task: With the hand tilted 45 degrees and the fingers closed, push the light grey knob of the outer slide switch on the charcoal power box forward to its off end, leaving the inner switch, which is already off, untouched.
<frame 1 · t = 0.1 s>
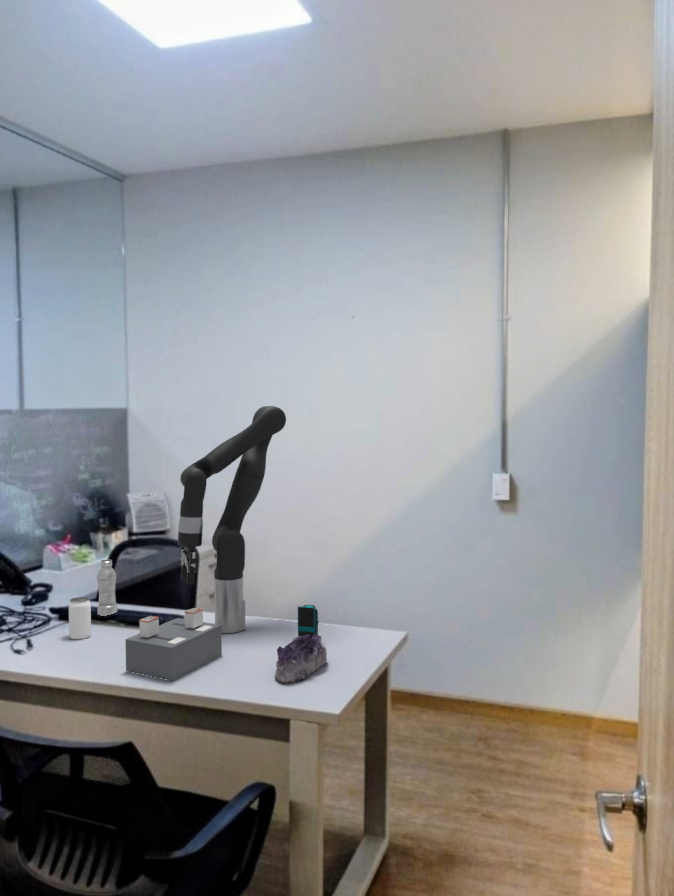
hand: (187, 581, 222), 17 cm above the table, fingers open, 8 cm apart
geode: (299, 672, 191), on the table
power box: (175, 663, 198), on the table
plastic bottle: (107, 618, 242), on the table
can: (80, 637, 221), on the table
switch b: (193, 617, 202), point 12 cm above the table, slide at 6.0 cm
switch a: (149, 626, 194), point 12 cm above the table, slide at 0.0 cm
surveillance camera: (311, 642, 216), on the table
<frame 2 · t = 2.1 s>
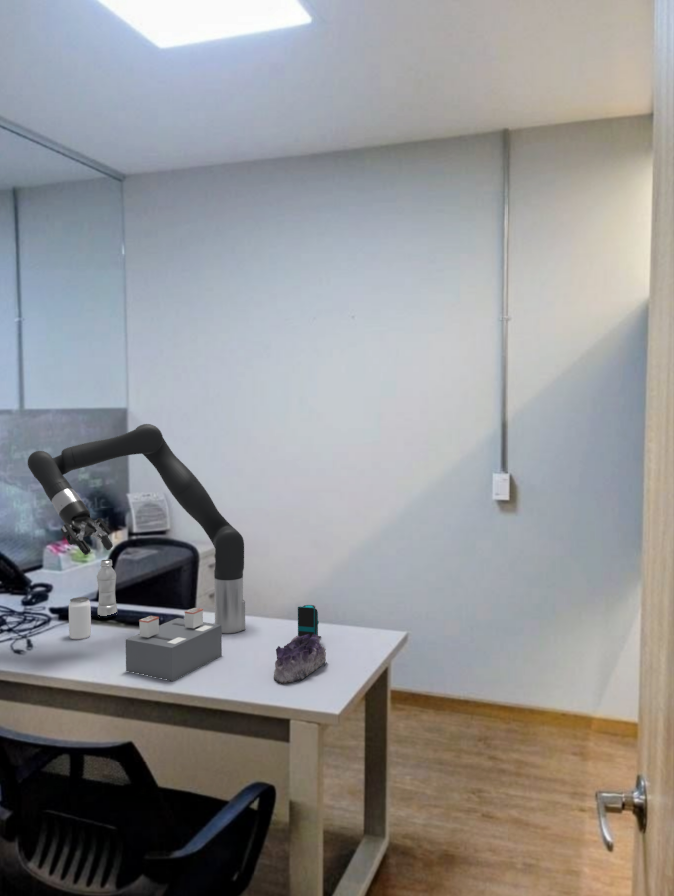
hand: (99, 550, 201), 31 cm above the table, fingers open, 8 cm apart
nothing on the table moved.
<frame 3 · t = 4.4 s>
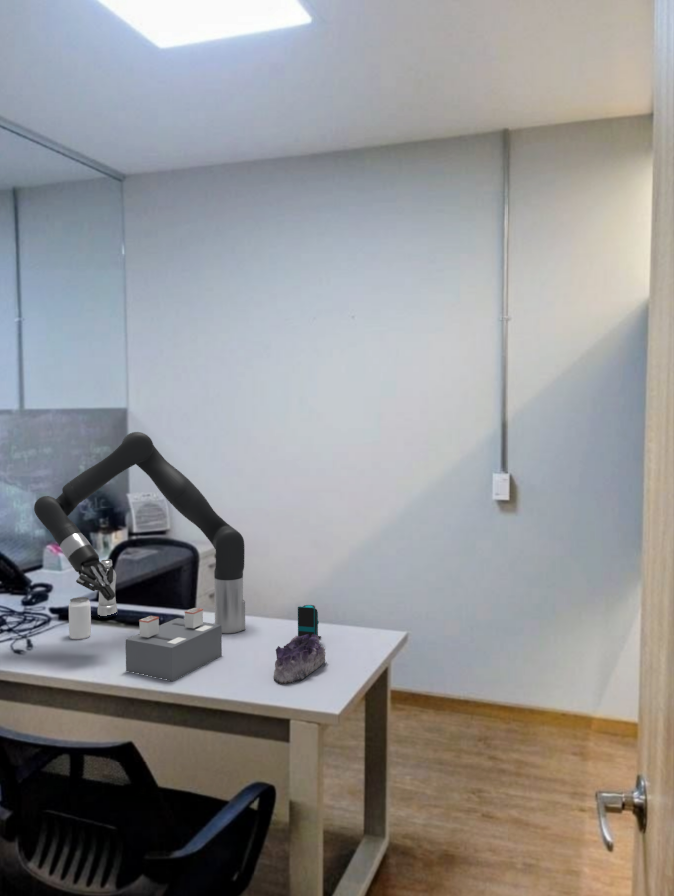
hand: (111, 598, 199), 18 cm above the table, fingers closed
nothing on the table moved.
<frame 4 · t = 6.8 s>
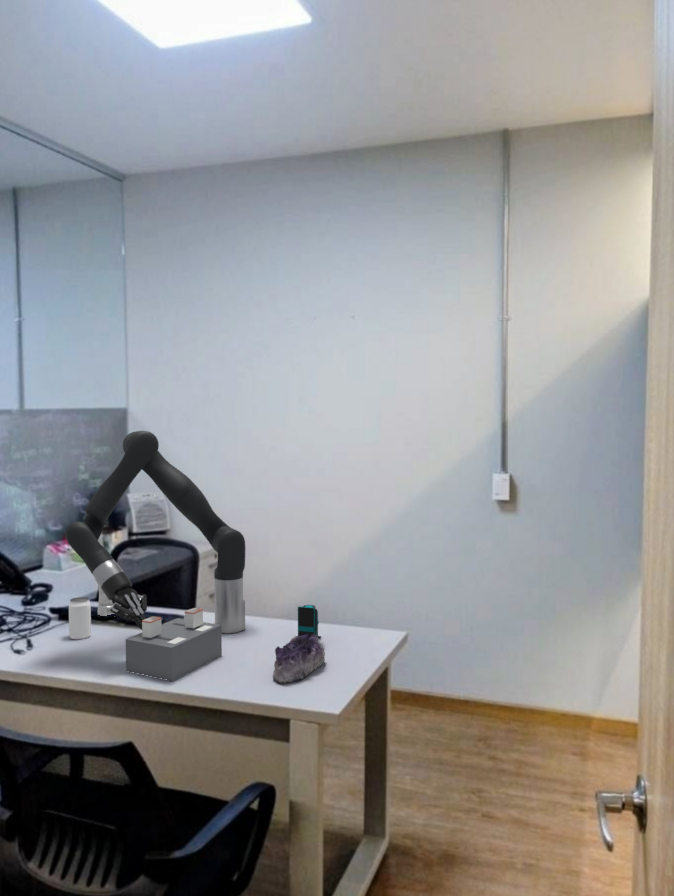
hand: (146, 627, 194), 11 cm above the table, fingers closed
switch a: (151, 627, 193), point 12 cm above the table, slide at 1.0 cm, touching gripper
everything else where it was.
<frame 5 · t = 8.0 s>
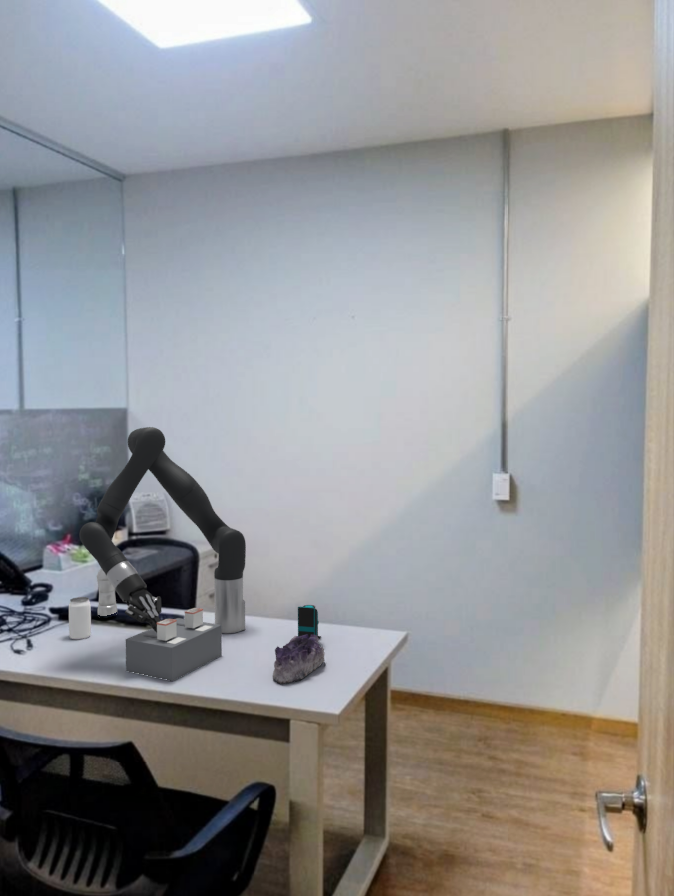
hand: (161, 630, 192), 11 cm above the table, fingers closed
switch a: (166, 629, 191), point 12 cm above the table, slide at 6.2 cm, touching gripper
everything else where it was.
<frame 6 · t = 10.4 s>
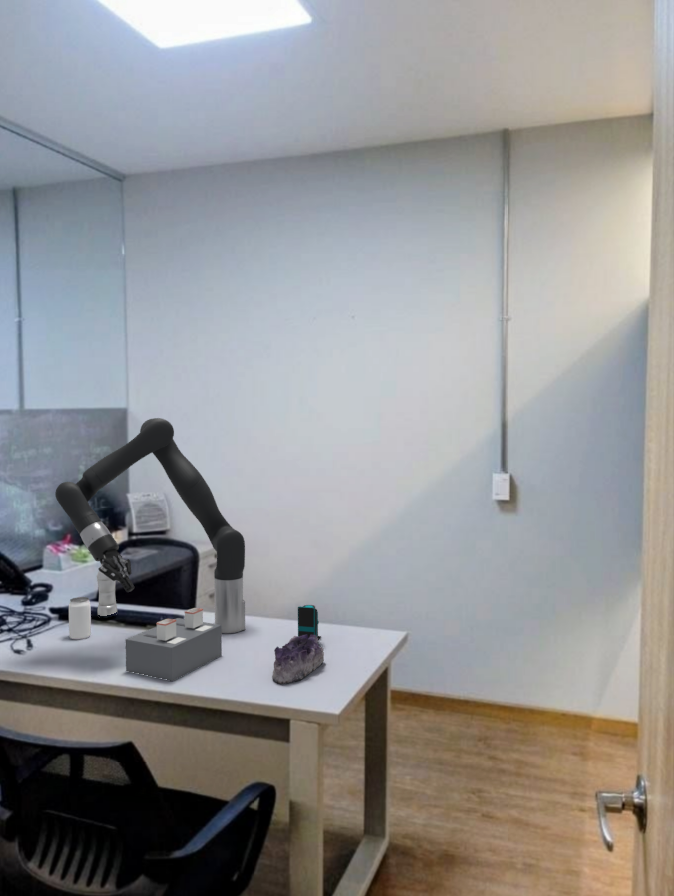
hand: (131, 590, 198), 21 cm above the table, fingers closed
switch a: (166, 629, 191), point 12 cm above the table, slide at 6.1 cm
everything else where it was.
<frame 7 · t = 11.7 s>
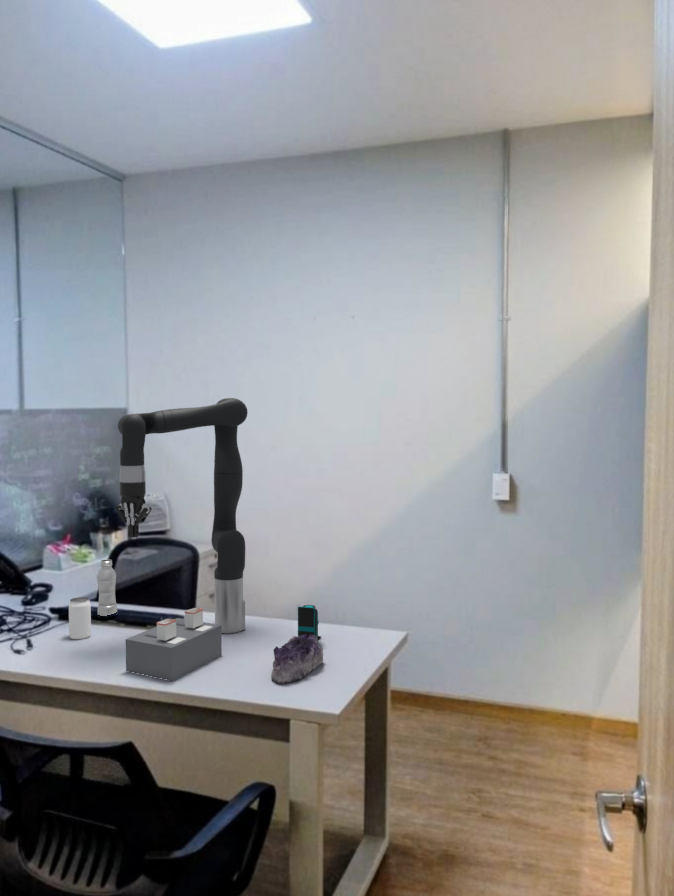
hand: (133, 536, 213), 33 cm above the table, fingers closed
nothing on the table moved.
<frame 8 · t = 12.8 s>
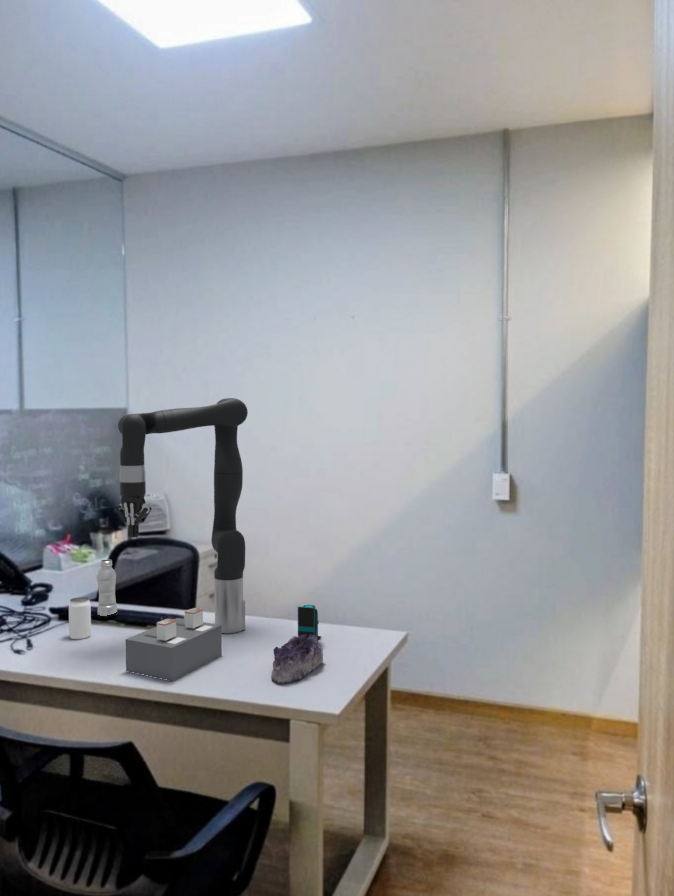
hand: (133, 536, 213), 33 cm above the table, fingers closed
nothing on the table moved.
at the end: switch a slide at 6.1 cm; switch b slide at 6.0 cm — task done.
